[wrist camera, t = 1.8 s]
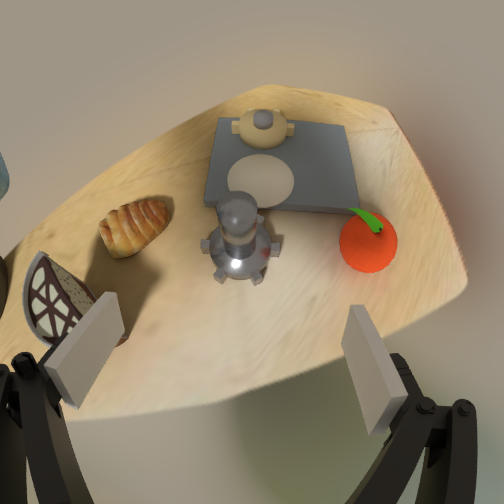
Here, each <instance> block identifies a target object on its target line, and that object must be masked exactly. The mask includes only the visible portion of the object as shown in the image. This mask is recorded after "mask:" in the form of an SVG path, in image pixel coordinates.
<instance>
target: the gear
mask: <svg viewBox="0 0 504 504" xmlns="http://www.w3.org/2000/svg"><path fill="white" fill-rule="evenodd" d="M216 211H217V216H218V221H219V226H218V227H217V228H216V229H215V231H214V232H213V234H212V236H211V238H210V240H203V239H201V246H200V248H201V250H202V253H204V254H210V255H211V258H212V261H213V263H214V265H215V267H216V268H217V270H216V272H215V273H214V278H215V280H217V281H218V282H220V283H221V284H223V283H224V281H225V280H226V278H227V277H228V278H231V279H235V280H245V279H251V281H252V283H253V284H254V286H255V285H257V284H259V283H261V282H262V279H263V277H262V275H261V272H262V271H263V270H264V268H265V267H266V265H267V264H268V261H269V258H270V257H279V253H280V243H271V239H270V236H269V234H268V232H267V231H266V229H265V228H264V227H263V226H264V223H265V218H264V217H262V216H261V215H259V214H257V202H256V200H255V199H254V197H253V196H252V195H250V194H249V193H247V192H244V191H231V192H228V193H226V194H224V195H223V196H222V197H221V198H220V199H219V201H218V203H217V206H216Z"/></svg>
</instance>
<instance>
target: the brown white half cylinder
mask: <svg viewBox="0 0 504 504" xmlns="http://www.w3.org/2000/svg"><path fill="white" fill-rule="evenodd" d="M48 256H49V255H48V254H46V253H44V252H43V251H42V252H41V251H40V250H39V251H38V253H37V254H36V255H35V257H34V258H33V260H32V262H31V264H30V266H29V268H28V270H27V273H26V276H25V280H24V285H23V293H22V303H23V310H24V315H25V318H26V321H27V323H28V326H29V327H30V329H31V331H32V332H33V333H34V335H35V336H36V337H37V338H38V339H39V340H40V341H41V342H42V343H43V344H44V345H46V346H47V347H49V348H50V347H51V346H52V345H54V342H55V341H56V340H57V339H58V338H59V337H60V336H61V335H63V334H64V333H66V332H68V333H70V332H71V330H72V329H73V328H74V327H75V326H76V324H77V323H78V322H79V321H80V320H81V318H82V317H83V316H84V315H85V314H86V313H87V312H88V310H89V309H90V308H91V307H92V306H93V305H94V304H95V302H96V301H97V300H98V299H97V298H96V296H95V295H94V294H93V292H92V291H91V289H90V288H89V287H88V285H87V284H85V283H84V282H82V281H81V280H79V279H78V278H77V277H75V276H74V275H72V274H71V273H69V272H68V271H67V270H65V269H64V268H63V267H61V266H60V265H58V264H57V263H56V262H54V261H53V260H52V259H50V258H49V257H48ZM127 339H128V337H127V336H126V335H125V334H124V333H123V335H122V337H121V338H120V340H119V341H118V343H117V345H116V346H115V347H117V346H119V345H121V344H123V343H124V342H125V341H126V340H127Z"/></svg>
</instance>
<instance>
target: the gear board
mask: <svg viewBox="0 0 504 504" xmlns="http://www.w3.org/2000/svg"><path fill="white" fill-rule="evenodd" d="M231 191H244V192H247V193H249V194H250V195H252V196H253V197H254V199H255V200H256V202H257V209H273V210H291V211H307V212H322V213H335V214H347V215H357V213H355V212H354V211H352V210H346V209H349V208H358V209H360V204H359V198H358V192H357V186H356V181H355V175H354V170H353V165H352V160H351V155H350V151H349V146H348V142H347V137H346V133H345V129H344V126H340V125H332V124H324V123H315V122H306V121H294V120H286V119H285V118H284V117H283V116H282V115H281V110H280V109H278V108H275V109H274V110H273V111H272V110H268V109H256V110H254V108H253V107H249V108H246V113H245V114H244V115H243V116H242V117H241V118H219V119H218V124H217V129H216V134H215V139H214V144H213V149H212V155H211V160H210V166H209V171H208V177H207V183H206V189H205V195H204V204H205V207H216V206H217V203H218V201H219V199H220V198H221V197H222V196H223V195H224V194H226V193H228V192H231Z"/></svg>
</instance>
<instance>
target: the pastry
mask: <svg viewBox="0 0 504 504" xmlns="http://www.w3.org/2000/svg"><path fill="white" fill-rule="evenodd" d="M169 220H170V214H169V211H168V209H167V208H166V205H165V203H164V202H163V201H158V200H143V201H141V202H132V203H131V204H125V205H122V206H120V207H119V209H118V210H112V211H110V212H109V213H108V216H107V218H105V219H104V220H102V221H100V223H99V229H100V234H101V237H102V239H103V240H104V244H105V246H106V248H107V250H108V252H109V253H110V255H111V257H113V258H123V257H129V256H131V255H133V254H135V253H138V252H139V251H140V250H141V249H143V248H144V247H145V246H146V245H148V244H149V243H150V242H151V241H152V240H154V239H155V238H156V237H157V236H158V235H159V234H160V233H161V232H162V231H164V229H165V227H166V226H167V224H168V223H169Z"/></svg>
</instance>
